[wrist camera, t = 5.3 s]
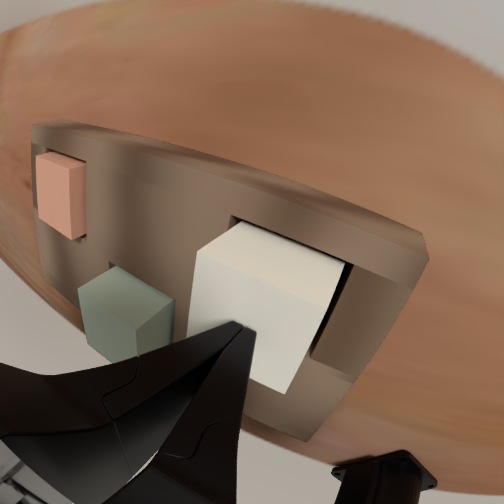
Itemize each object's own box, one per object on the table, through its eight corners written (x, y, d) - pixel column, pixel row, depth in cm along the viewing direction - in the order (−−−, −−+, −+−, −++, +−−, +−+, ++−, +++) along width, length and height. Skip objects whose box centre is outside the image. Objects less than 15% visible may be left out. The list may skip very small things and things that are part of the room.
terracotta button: (112, 158, 15) (69, 169, 13) (110, 222, 17) (71, 240, 15) (74, 146, 16) (35, 155, 14) (74, 203, 18) (38, 217, 16)
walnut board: (422, 233, 11) (429, 259, 8) (319, 410, 16) (306, 442, 14) (61, 119, 17) (31, 124, 14) (66, 266, 22) (43, 278, 20)
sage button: (176, 297, 15) (135, 330, 12) (172, 350, 16) (139, 383, 14) (118, 264, 16) (77, 288, 13) (121, 317, 18) (87, 343, 15)
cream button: (345, 262, 10) (327, 308, 8) (309, 343, 12) (284, 394, 10) (242, 220, 11) (196, 250, 9) (224, 303, 13) (185, 343, 11)
